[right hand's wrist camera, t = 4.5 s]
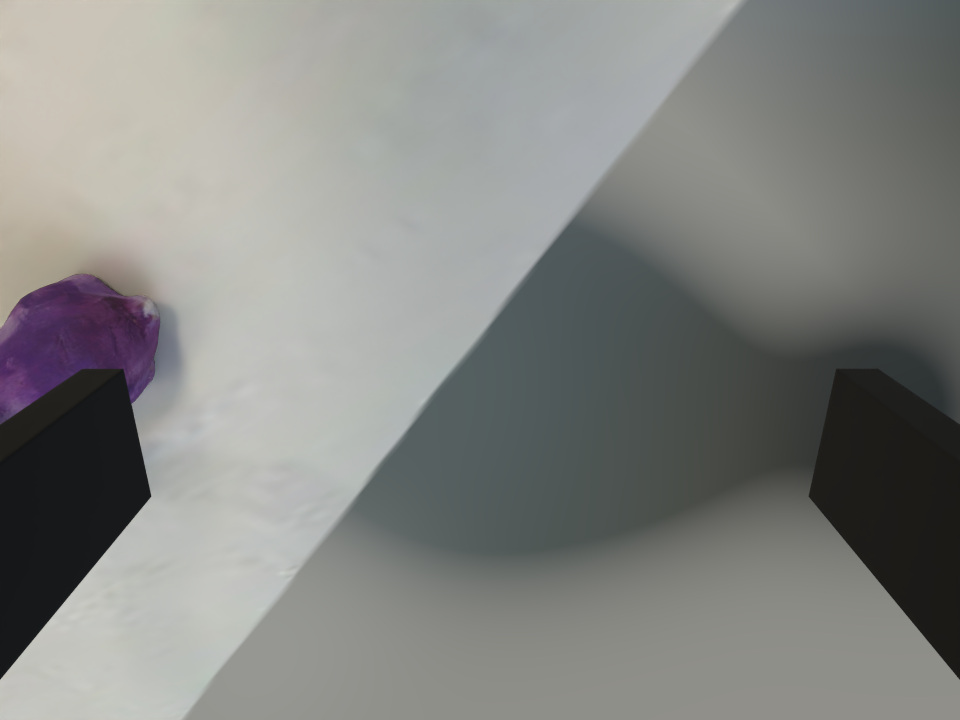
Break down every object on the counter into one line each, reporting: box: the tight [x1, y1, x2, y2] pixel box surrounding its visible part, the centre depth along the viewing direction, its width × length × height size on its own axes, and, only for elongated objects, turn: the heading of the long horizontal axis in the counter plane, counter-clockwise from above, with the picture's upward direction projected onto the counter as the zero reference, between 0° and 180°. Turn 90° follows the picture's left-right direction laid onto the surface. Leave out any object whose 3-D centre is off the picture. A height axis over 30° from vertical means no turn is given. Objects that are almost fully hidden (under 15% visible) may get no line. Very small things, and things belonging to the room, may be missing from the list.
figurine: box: [0, 274, 160, 424], centre depth 35 cm, size 9×10×15 cm
